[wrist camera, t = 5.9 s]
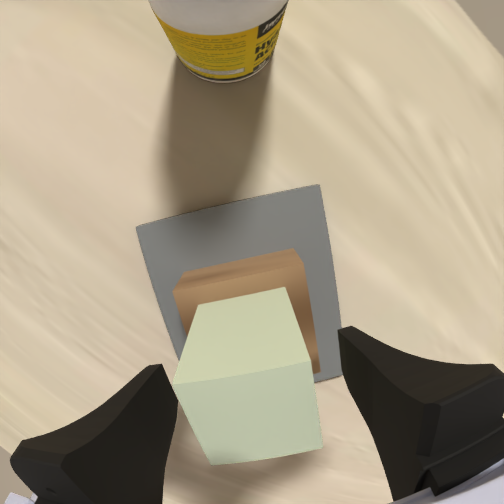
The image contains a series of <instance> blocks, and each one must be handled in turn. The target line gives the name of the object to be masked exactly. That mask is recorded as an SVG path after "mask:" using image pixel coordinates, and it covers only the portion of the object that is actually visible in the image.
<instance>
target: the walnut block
mask: <svg viewBox="0 0 504 504" xmlns="http://www.w3.org/2000/svg"><path fill="white" fill-rule="evenodd" d="M282 287H285V288H286V291H287V294H288V296H289V299H290V302H291V305H292V308H293V311H294V313H295V316H296V319H297V322H298V325H299V328H300V331H301V334H302V336H303V339H304V342H305V345H306V348H307V351H308V354H309V357H310V360H311V365H312V372H313V374H316V373H320V372H321V368H320V361H319V355H318V348H317V341H316V335H315V328H314V322H313V315H312V309H311V303H310V297H309V291H308V285H307V280H306V274H305V268H304V263H303V262H302V260H301V259H300V257H299V256H298V254H297V253H296V251H295V250H294V248H291V249H287V250H282V251H278V252H273V253H269V254H264V255H260V256H255V257H250V258H246V259H241V260H237V261H232V262H228V263H223V264H218V265H214V266H209V267H205V268H200V269H195V270H191V271H186V272H184V273H183V274H182V276H181V278H180V279H179V281H178V283H177V284H176V286H175V288H174V290H173V291H172V292H173V295H174V299H175V302H176V305H177V308H178V311H179V314H180V317H181V320H182V323H183V326H184V329H185V332H186V335H187V337H188V334H189V331H190V328H191V325H192V322H193V319H194V316H195V313H196V310H197V307H198V305H200V304H205V303H210V302H215V301H220V300H225V299H230V298H235V297H239V296H244V295H249V294H254V293H259V292H263V291H268V290H272V289H277V288H282Z"/></svg>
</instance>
